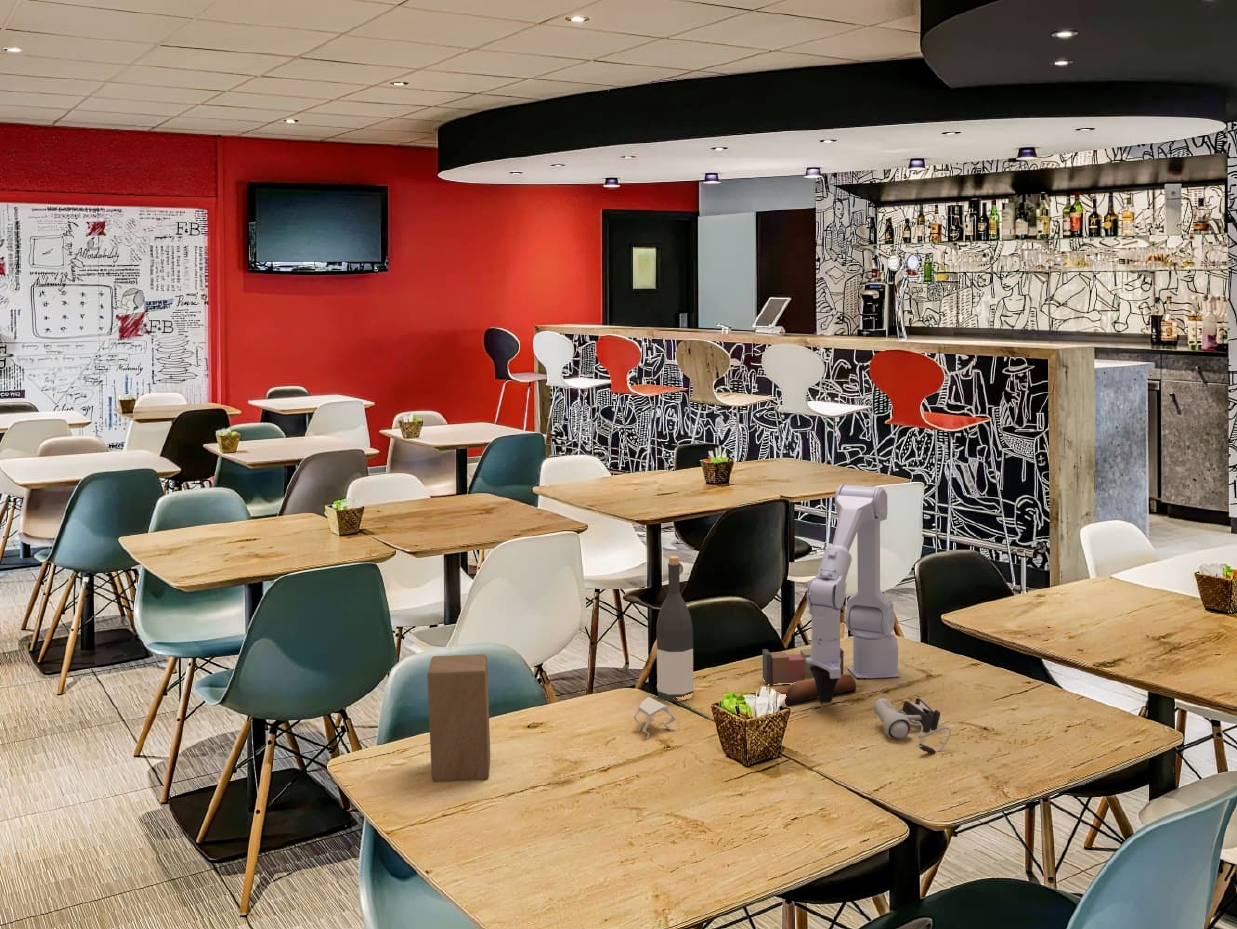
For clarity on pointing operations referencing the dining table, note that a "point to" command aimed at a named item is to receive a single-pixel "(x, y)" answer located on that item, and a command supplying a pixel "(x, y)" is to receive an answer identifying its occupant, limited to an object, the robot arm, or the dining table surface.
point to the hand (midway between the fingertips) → (825, 701)
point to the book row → (788, 666)
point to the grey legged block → (653, 712)
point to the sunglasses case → (813, 689)
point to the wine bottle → (674, 641)
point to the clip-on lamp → (909, 720)
